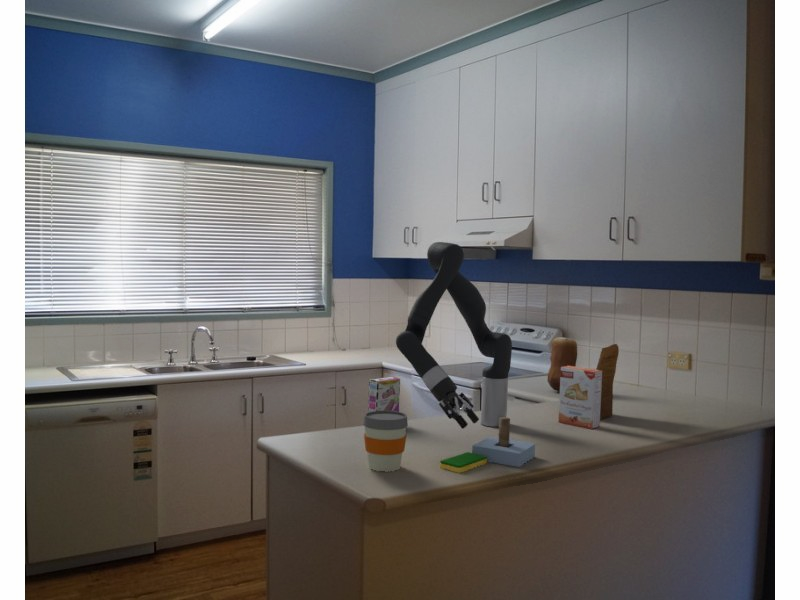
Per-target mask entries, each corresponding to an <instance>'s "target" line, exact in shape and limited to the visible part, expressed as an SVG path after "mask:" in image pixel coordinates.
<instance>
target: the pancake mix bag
mask: <svg viewBox="0 0 800 600" xmlns="http://www.w3.org/2000/svg"><path fill="white" fill-rule="evenodd" d="M619 349H620V348H619V345H618V344H617V343H614V344H611V345H608V346H606V347H603V348H601V351H600V355H599V357H598V362H597V365H596V369H595V370H601V371H602V388H601V409H600V421H602V420H605V419H607V418H610V417H613V403H614V401H613V400H614V398H613V397H614V393H613V392H614V391H613V390H614V380H615V377H616V376H615V375H616V371H617V370H616V369H617V363H618V362H617V361H618V358H619V351H620V350H619Z"/></svg>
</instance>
